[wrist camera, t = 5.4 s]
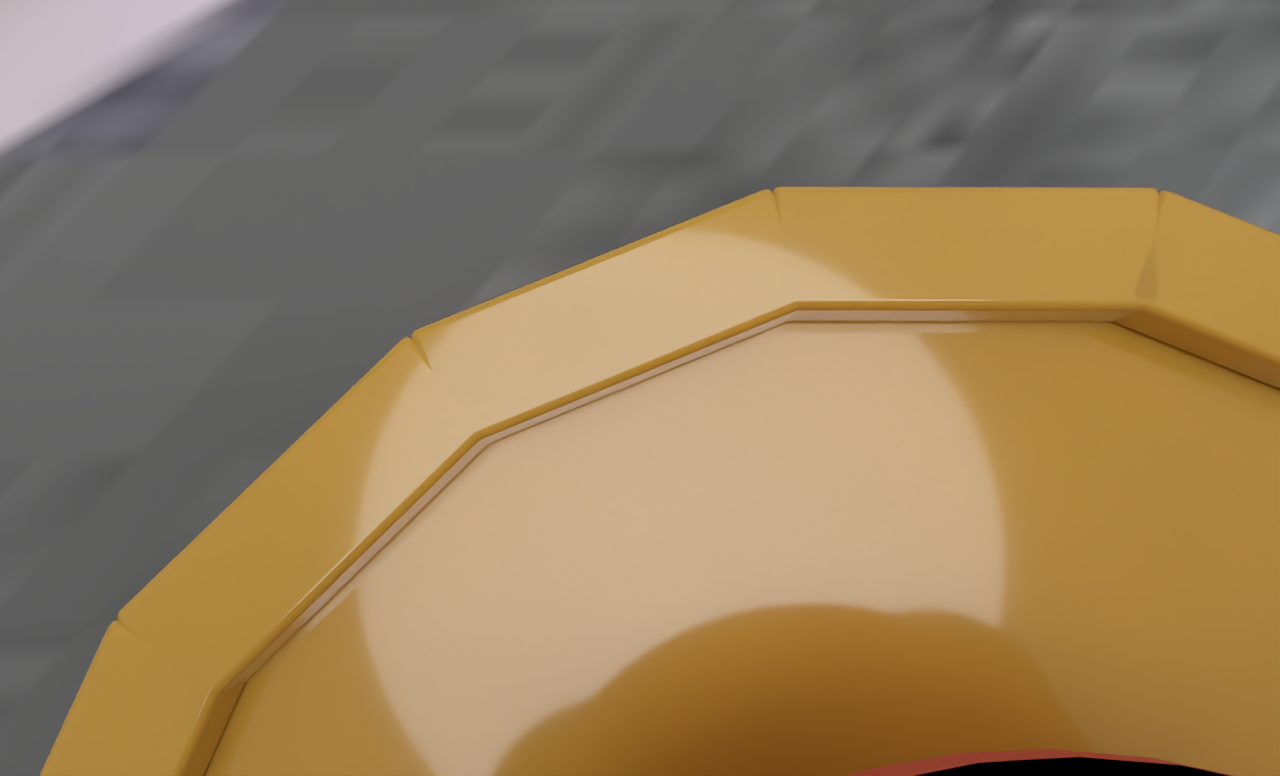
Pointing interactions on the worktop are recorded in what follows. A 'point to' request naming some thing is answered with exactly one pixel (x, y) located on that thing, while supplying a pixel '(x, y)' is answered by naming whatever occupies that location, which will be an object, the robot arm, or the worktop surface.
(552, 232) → the worktop surface
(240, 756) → the tall tapered cup
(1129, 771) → the toy ball
